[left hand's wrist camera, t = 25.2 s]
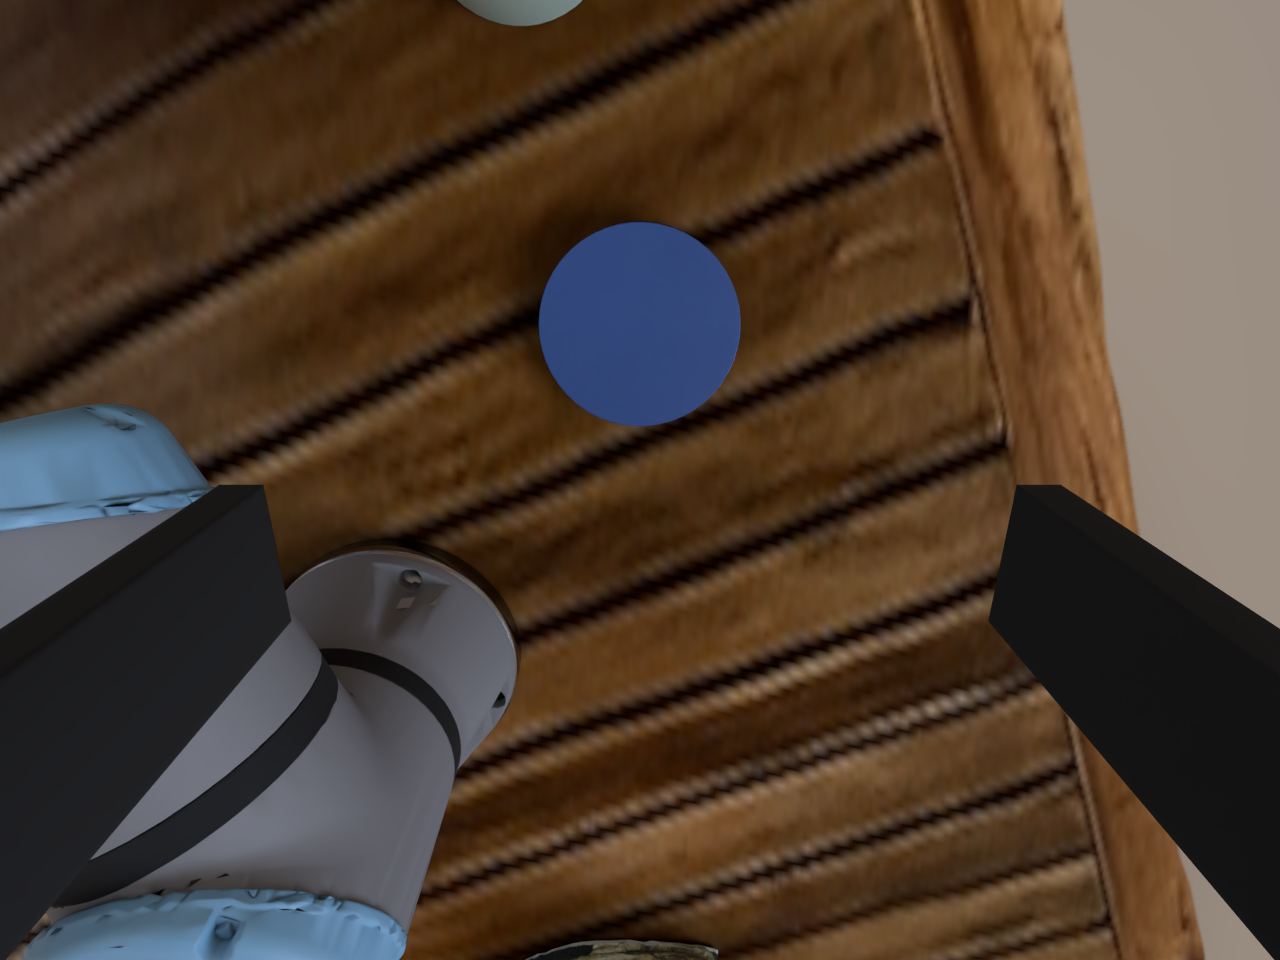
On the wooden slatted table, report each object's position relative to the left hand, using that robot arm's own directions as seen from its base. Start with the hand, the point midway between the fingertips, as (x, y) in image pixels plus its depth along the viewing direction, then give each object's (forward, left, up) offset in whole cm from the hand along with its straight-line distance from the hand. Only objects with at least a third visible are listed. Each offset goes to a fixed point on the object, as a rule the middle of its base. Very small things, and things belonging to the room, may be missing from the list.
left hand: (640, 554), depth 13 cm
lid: (0, 0, -25) cm, 25 cm away
